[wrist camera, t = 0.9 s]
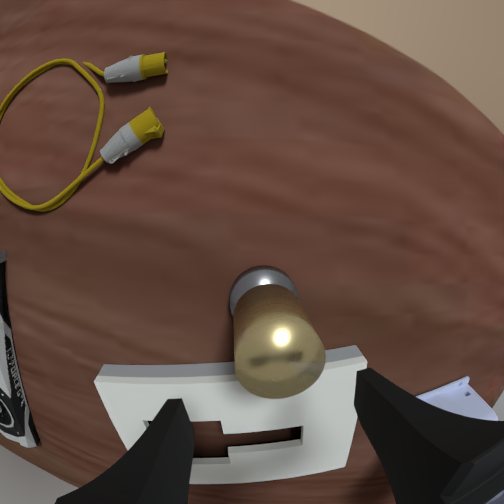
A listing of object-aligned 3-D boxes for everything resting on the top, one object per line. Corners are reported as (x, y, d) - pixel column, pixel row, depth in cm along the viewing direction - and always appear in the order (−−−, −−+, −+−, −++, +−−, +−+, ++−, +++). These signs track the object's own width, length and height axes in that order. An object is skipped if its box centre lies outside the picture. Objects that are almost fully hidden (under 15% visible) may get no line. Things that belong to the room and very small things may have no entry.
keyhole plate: (355, 345, 21) (367, 361, 19) (338, 450, 25) (345, 466, 22) (104, 364, 20) (93, 381, 18) (149, 464, 24) (146, 481, 21)
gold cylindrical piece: (294, 262, 19) (332, 315, 12) (295, 322, 20) (327, 394, 13) (226, 268, 19) (224, 327, 11) (233, 328, 20) (235, 406, 13)
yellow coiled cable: (142, 237, 19) (133, 244, 17) (-14, 194, 17) (-28, 197, 15) (191, 62, 16) (187, 51, 14) (21, 56, 14) (9, 49, 12)
